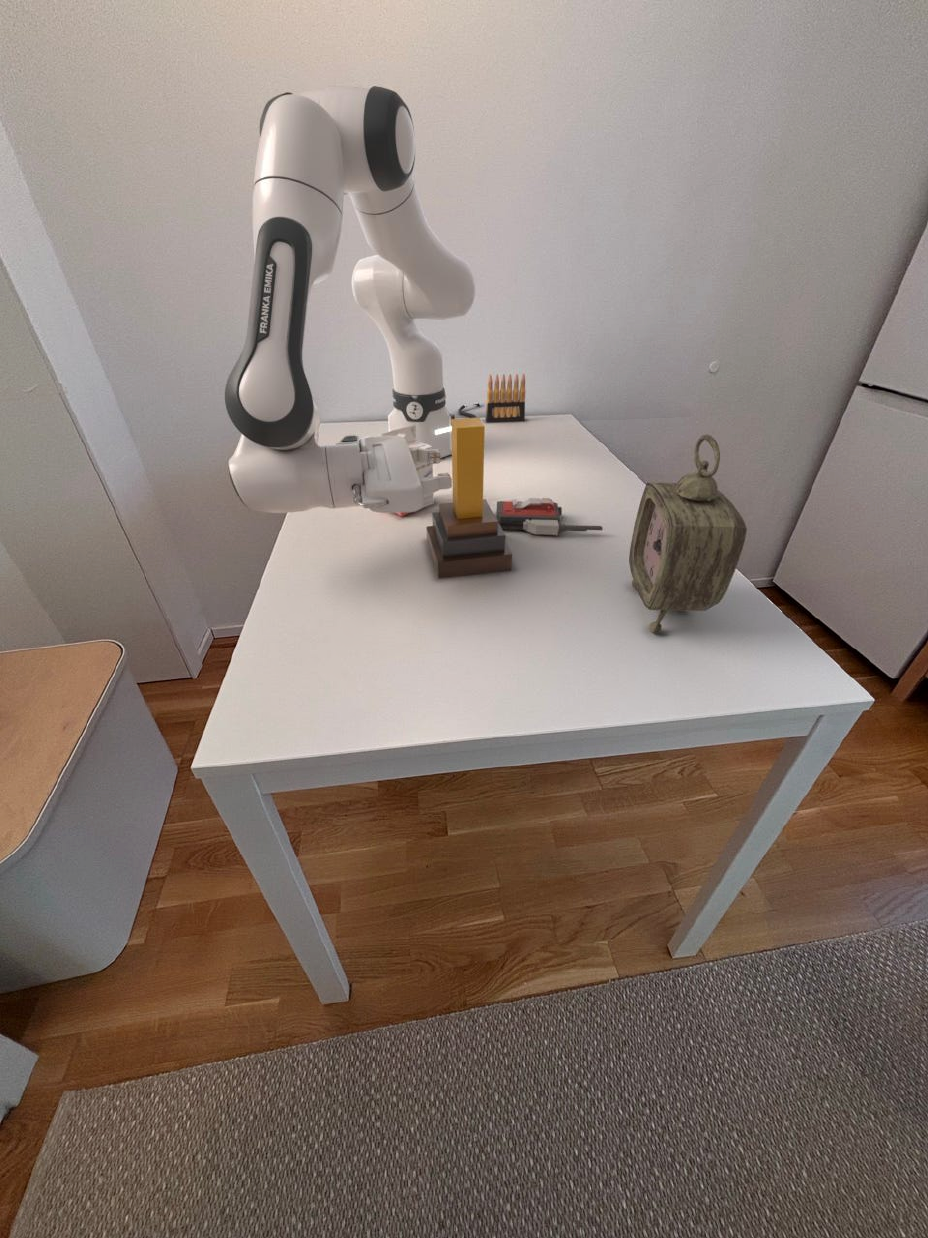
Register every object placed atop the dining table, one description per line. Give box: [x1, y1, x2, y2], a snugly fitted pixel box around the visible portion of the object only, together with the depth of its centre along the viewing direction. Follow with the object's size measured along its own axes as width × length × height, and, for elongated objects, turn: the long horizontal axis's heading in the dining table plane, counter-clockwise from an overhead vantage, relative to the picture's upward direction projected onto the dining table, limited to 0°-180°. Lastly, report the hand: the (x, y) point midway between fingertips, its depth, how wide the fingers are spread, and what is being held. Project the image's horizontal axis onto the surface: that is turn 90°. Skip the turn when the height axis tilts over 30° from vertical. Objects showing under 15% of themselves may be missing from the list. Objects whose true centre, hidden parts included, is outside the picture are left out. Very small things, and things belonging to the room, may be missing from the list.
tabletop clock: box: [628, 434, 748, 634], centre depth 67 cm, size 14×9×25 cm, turn 178°
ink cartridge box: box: [380, 425, 435, 517], centre depth 97 cm, size 9×5×15 cm, turn 134°
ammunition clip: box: [485, 373, 526, 423], centre depth 139 cm, size 11×2×12 cm, turn 96°
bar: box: [451, 417, 486, 519], centre depth 78 cm, size 4×4×14 cm
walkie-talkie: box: [495, 497, 604, 536], centre depth 94 cm, size 9×4×20 cm
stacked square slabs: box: [425, 498, 513, 579], centre depth 85 cm, size 12×12×8 cm
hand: (445, 467), depth 77 cm, fingers open, 8 cm apart
